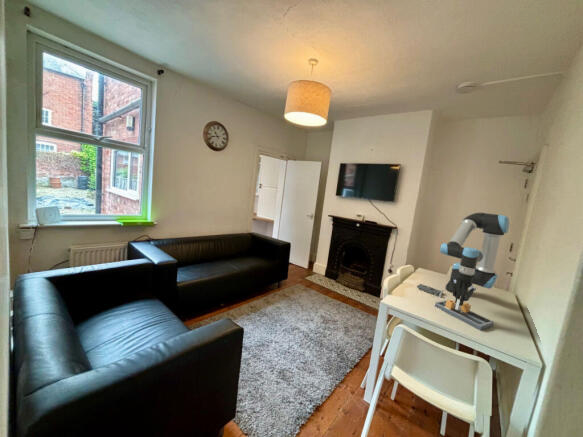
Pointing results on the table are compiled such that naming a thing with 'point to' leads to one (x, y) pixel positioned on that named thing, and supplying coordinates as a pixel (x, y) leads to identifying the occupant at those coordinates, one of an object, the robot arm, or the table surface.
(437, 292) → the graphics card
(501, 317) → the table surface
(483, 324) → the switch bank
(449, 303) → the tab
